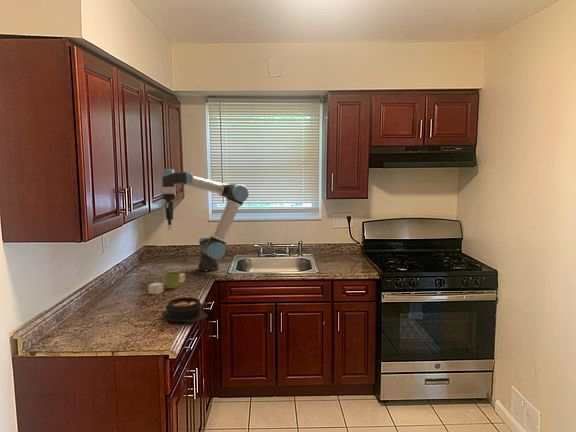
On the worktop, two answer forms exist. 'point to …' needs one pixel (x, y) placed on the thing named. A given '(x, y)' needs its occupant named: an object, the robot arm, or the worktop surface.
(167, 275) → the plant pot
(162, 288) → the grey block
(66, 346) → the worktop surface
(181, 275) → the birch block
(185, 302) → the casserole
